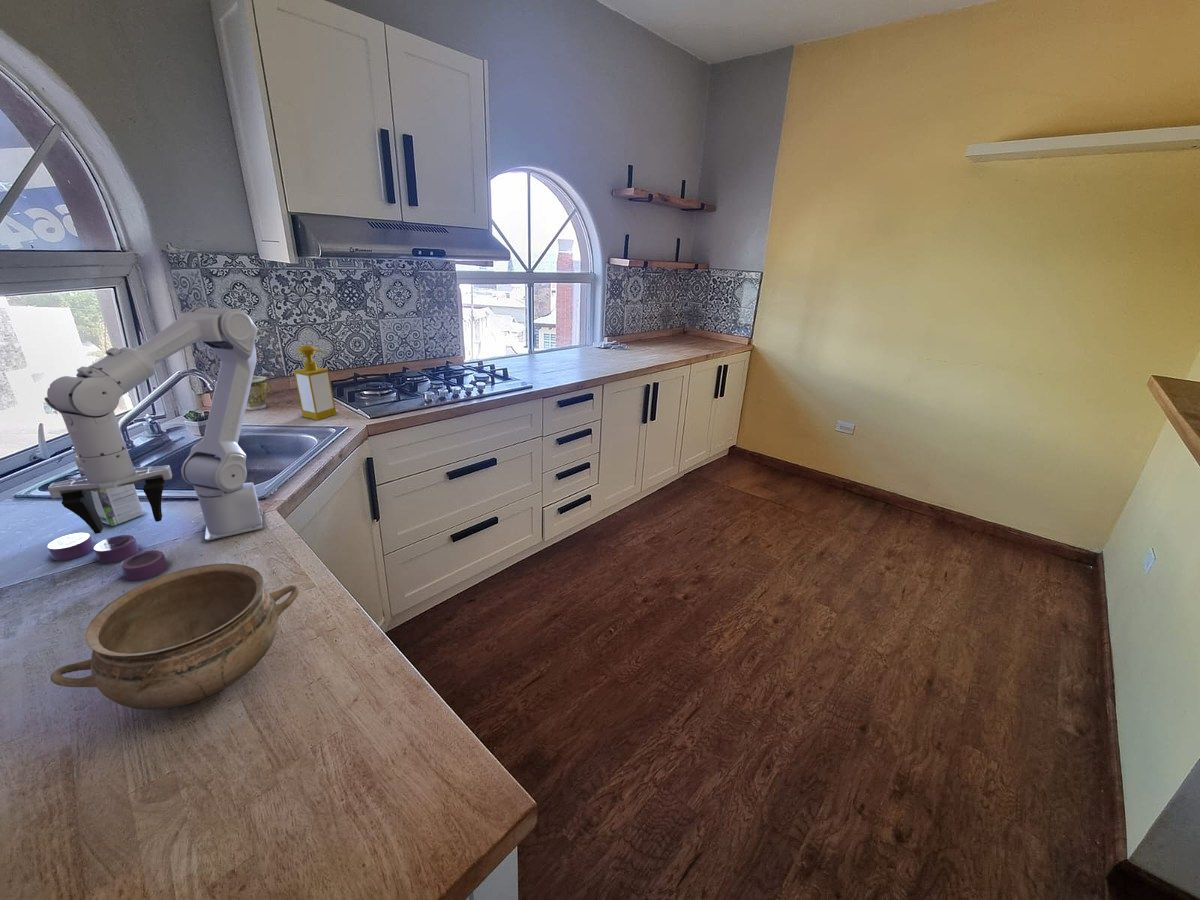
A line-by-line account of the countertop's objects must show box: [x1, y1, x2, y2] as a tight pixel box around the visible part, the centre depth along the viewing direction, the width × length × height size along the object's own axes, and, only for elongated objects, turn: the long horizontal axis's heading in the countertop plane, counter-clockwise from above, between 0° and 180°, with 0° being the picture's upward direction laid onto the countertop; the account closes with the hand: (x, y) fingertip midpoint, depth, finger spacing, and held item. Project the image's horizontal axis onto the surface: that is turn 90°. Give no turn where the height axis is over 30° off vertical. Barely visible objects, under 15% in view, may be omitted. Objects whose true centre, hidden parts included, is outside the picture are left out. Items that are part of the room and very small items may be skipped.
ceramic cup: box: [245, 375, 272, 411], centre depth 173 cm, size 13×10×10 cm
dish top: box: [46, 532, 95, 562], centre depth 92 cm, size 6×6×2 cm
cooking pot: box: [50, 562, 300, 711], centre depth 65 cm, size 25×19×12 cm
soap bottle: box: [293, 344, 337, 421], centre depth 164 cm, size 7×13×24 cm, turn 65°
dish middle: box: [121, 549, 168, 582], centre depth 88 cm, size 6×6×2 cm
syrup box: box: [73, 454, 144, 527], centre depth 102 cm, size 6×6×14 cm
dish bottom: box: [93, 534, 140, 564], centre depth 92 cm, size 6×6×2 cm
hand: (129, 524), depth 85 cm, fingers open, 7 cm apart
